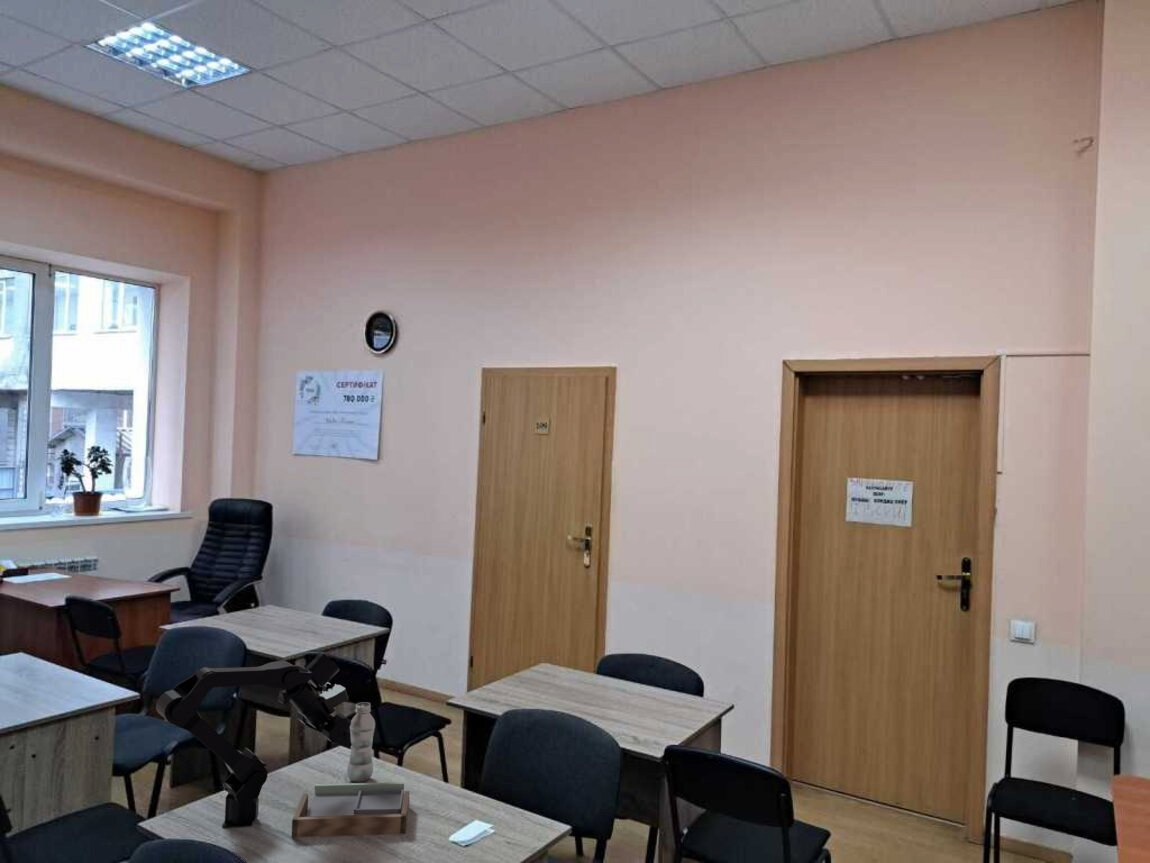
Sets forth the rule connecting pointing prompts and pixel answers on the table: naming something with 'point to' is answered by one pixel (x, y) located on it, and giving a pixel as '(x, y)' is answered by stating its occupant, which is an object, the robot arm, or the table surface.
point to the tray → (357, 799)
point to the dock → (348, 822)
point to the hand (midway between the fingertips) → (341, 740)
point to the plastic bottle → (361, 744)
